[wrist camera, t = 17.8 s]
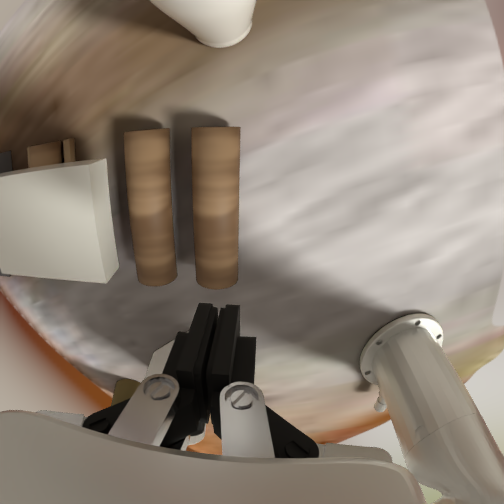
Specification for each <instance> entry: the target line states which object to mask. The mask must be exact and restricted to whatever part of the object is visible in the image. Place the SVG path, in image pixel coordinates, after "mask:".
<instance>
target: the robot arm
mask: <svg viewBox="0 0 504 504" xmlns="http://www.w3.org/2000/svg"><path fill="white" fill-rule="evenodd" d="M442 343H443V330H442V327H441V325H440V324H439V323H438V321H437V320H436V319H435V318H434V317H432V316H430V315H427V314H411V315H406V316H404V317H401V318H398V319H396V320H394V321H392V322H390V323H389V324H387V325H386V326H384V327H383V328H381V329H380V330H379V331H378V332H377V333H375V334H374V335H373V337H372V338H371V339H370V340H369V341H368V343H367V344H366V345H365V347H364V349H363V351H362V353H361V356H360V369H361V372H362V375H363V376H364V378H365V379H366V380H367V381H368V382H370V383H372V384H375V385H378V387H379V389H380V391H379V397H378V399H377V401H376V403H375V405H374V408H375V410H376V411H378V412H383V411H385V409H386V407H387V409H388V412H389V414H390V417H391V420H392V423H393V426H394V429H395V432H396V434H397V438H398V440H399V443H400V446H401V449H402V453H403V455H404V459H405V462H406V465H407V468H408V470H407V469H406V468H404V467H402V466H400V465H397V464H394V463H393V462H392V457H391V456H390V454H389V453H388V452H387V451H385V450H384V449H381V448H377V447H362V446H352V445H342V444H333V443H326V445H322V444H316V443H315V442H314V441H313V440H312V439H311V438H309V437H308V436H307V435H305V434H304V433H302V432H301V431H299V430H298V429H297V428H295V427H294V426H293V425H291V424H290V423H288V422H287V421H286V420H284V419H283V418H282V417H280V416H279V415H278V414H276V413H275V412H274V411H273V410H271V409H270V408H269V407H267V406H266V405H265V401H264V396H263V393H262V391H261V390H260V389H259V388H258V387H257V386H256V385H254V374H255V355H256V337H242V336H240V305H226V308H221V310H220V314H219V318H218V309H217V307H213V304H208V303H199V304H198V307H197V310H196V313H195V315H194V318H193V321H192V324H191V327H190V330H189V333H186V332H178V334H177V336H176V338H175V341H174V344H173V346H172V349H171V351H170V354H169V356H168V359H167V362H166V364H165V367H164V370H163V372H162V374H154V375H151V376H148V377H147V378H145V379H144V380H143V381H142V382H141V383H140V385H139V386H138V388H137V390H136V391H135V393H134V394H133V396H132V397H131V398H129V399H127V400H124V401H122V402H120V403H117V404H115V405H113V406H110V407H108V408H106V409H103V410H101V411H98V412H96V413H93V414H92V415H90V416H88V417H85V416H84V415H83V414H73V413H63V412H54V411H47V410H43V411H42V410H41V411H38V412H29V411H23V410H7V411H2V412H0V504H426V501H425V498H424V495H423V492H422V490H421V487H420V485H419V483H420V484H422V485H425V486H427V487H430V488H433V489H436V490H438V491H440V492H441V493H442V497H441V498H440V499H438V500H437V501H435V502H433V503H431V504H504V456H503V454H502V452H501V451H500V449H499V447H498V445H497V444H496V442H495V440H494V438H493V436H492V435H491V433H490V431H489V429H488V427H487V425H486V423H485V421H484V419H483V417H482V416H481V414H480V412H479V410H478V409H477V407H476V405H475V403H474V401H473V399H472V398H471V396H470V394H469V392H468V391H467V389H466V387H465V385H464V384H463V382H462V380H461V379H460V377H459V375H458V374H457V372H456V370H455V369H454V367H453V365H452V364H451V362H450V361H449V359H448V357H447V356H446V354H445V353H444V351H443V349H442V348H441V346H442ZM210 414H211V422H212V424H213V427H214V433H215V434H216V435H217V436H218V437H219V438H220V439H221V440H222V453H223V455H214V454H205V453H197V452H189V451H185V450H186V448H187V446H188V443H189V441H190V435H191V434H192V433H194V432H196V431H197V430H202V428H203V423H207V424H208V422H209V417H210ZM418 482H419V483H418Z"/></svg>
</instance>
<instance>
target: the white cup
mask: <svg viewBox="0 0 504 504" xmlns="http://www.w3.org/2000/svg"><path fill="white" fill-rule="evenodd" d="M149 1H150V2H151V3H152V4H153V5H155V6H156V7H157V8H158V9H159V10H161V11H162V12H163V13H165V14H166V15H167V16H169V17H170V18H172V19H173V20H174V21H176V22H177V23H179V24H180V25H181V26H183V27H184V28H185V29H187V30H188V31H189V32H190V33H192V34H193V35H194V36H195V38H196V39H197V40H198V41H200V42H201V43H203V44H205V45H207V46H210V47H216V48H222V47H228V46H232V45H234V44H236V43H238V42H240V41H241V40H242V39H244V38H245V37H246V35H247V34H248V33H249V31H250V29H251V26H252V16H253V12H254V9H255V5H256V1H257V0H149Z"/></svg>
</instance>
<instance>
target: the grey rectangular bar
mask: <svg viewBox="0 0 504 504" xmlns="http://www.w3.org/2000/svg"><path fill="white" fill-rule="evenodd" d="M10 171H13V170H12V161H11V151H8V152H4V153H0V173H5V172H10ZM0 275H1V276H9V277H10V276H11V274H2V272H1V269H0Z"/></svg>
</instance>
